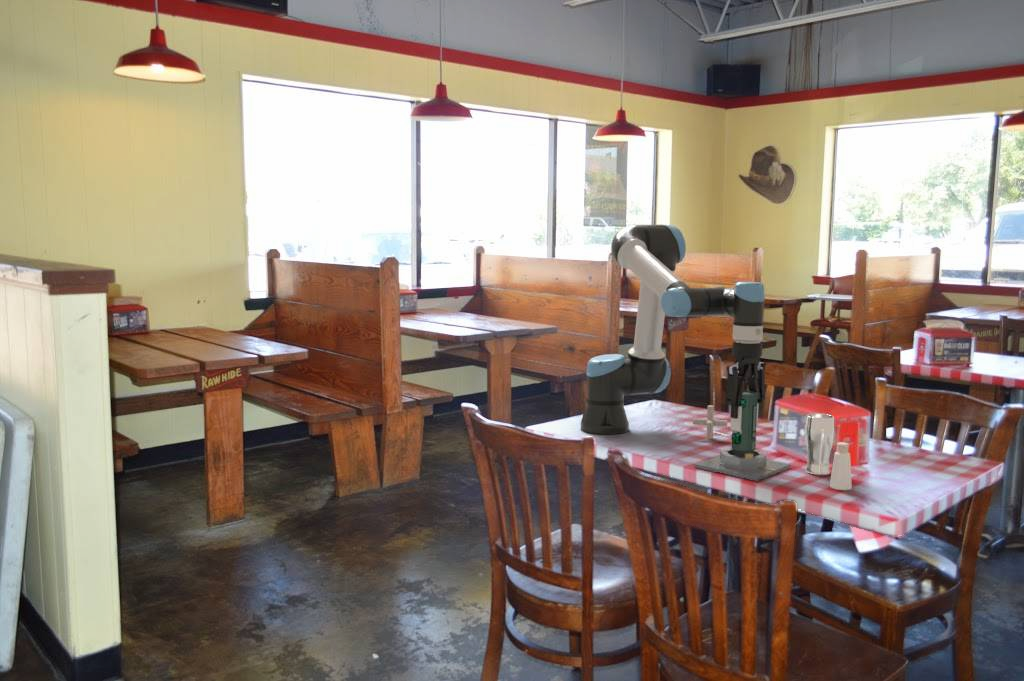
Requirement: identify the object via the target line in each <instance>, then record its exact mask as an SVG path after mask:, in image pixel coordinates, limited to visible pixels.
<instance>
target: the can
mask: <svg viewBox="0 0 1024 681" xmlns="http://www.w3.org/2000/svg"><path fill="white" fill-rule="evenodd" d="M757 400H758V392H754V391H749V390H744V389H743V393H742V397H741V402H740V405H739V406H742V416H741V431H735V430H731V447H730V448H731V449H734V450H738V451H746V452H747V451H754V450H757V449H756V448H757V446H756V444H757V428H756V424H757Z"/></svg>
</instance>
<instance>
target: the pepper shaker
mask: <svg viewBox="0 0 1024 681" xmlns="http://www.w3.org/2000/svg"><path fill="white" fill-rule="evenodd" d="M849 447H850V444H849V443H848V442H843V441H839V442H837V443H836V449H837V450H836V451H835V452H834V454H833V455H834V457H833V463H832V469H831V473H830V474H831V475H830V481H829V488H831V489H834V490H837V491H850V490H852V489H853V485H852V466H851V453H850V452H849Z"/></svg>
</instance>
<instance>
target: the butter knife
mask: <svg viewBox="0 0 1024 681" xmlns="http://www.w3.org/2000/svg"><path fill="white" fill-rule="evenodd" d="M703 429H704V430H703V431H706V430H707V428H703ZM715 433H717V434H716V435H718V434H721V435H720V436H722V435H724V436H723V437H726V436H730V437H731V435H730V434H726V433H723V432H719V431H717V430H716V431H715V430H713V434H715Z"/></svg>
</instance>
